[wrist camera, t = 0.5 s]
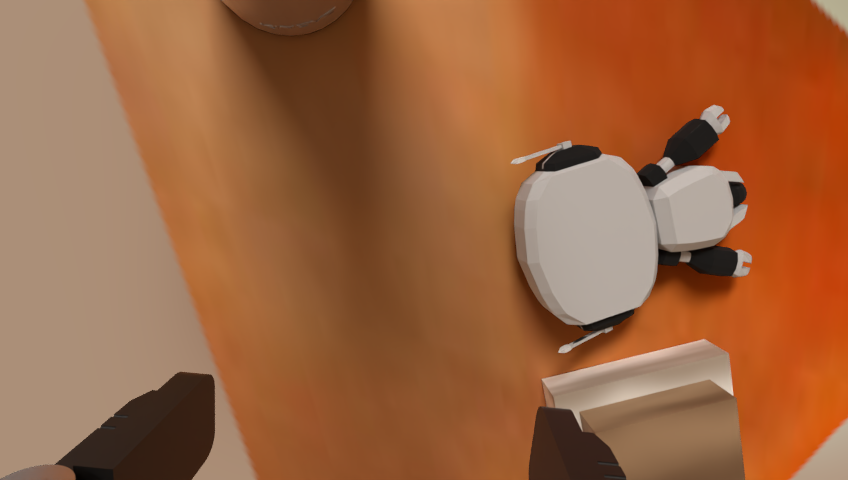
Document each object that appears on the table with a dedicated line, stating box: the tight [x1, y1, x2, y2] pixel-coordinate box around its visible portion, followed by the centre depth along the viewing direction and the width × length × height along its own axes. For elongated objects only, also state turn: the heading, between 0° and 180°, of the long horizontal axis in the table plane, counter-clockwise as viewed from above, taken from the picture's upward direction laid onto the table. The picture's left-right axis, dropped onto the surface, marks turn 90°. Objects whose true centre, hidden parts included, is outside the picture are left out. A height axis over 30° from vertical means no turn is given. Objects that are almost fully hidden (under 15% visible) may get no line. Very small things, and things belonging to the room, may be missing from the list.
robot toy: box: [511, 105, 752, 353], centre depth 30 cm, size 12×4×15 cm
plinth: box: [542, 339, 745, 480], centre depth 33 cm, size 12×12×5 cm
